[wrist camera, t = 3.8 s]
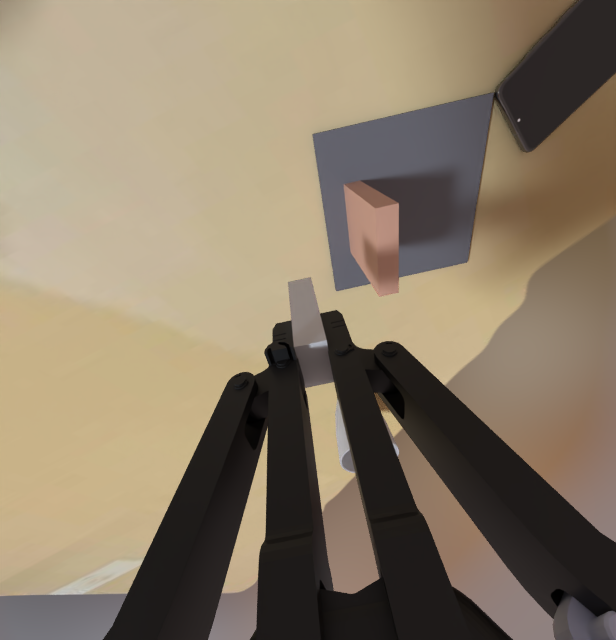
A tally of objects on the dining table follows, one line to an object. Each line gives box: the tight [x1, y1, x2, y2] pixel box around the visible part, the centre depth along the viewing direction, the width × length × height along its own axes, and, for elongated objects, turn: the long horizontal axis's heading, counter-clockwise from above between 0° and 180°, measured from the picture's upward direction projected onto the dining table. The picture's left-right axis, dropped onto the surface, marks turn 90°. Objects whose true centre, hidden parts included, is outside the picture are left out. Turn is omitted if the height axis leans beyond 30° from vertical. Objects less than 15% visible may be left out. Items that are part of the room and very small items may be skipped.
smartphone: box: [494, 0, 616, 153], centre depth 23 cm, size 7×1×16 cm
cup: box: [335, 399, 399, 473], centre depth 42 cm, size 8×8×10 cm
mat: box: [313, 93, 494, 291], centre depth 29 cm, size 16×16×1 cm
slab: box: [344, 181, 399, 297], centre depth 25 cm, size 7×2×10 cm, turn 11°
